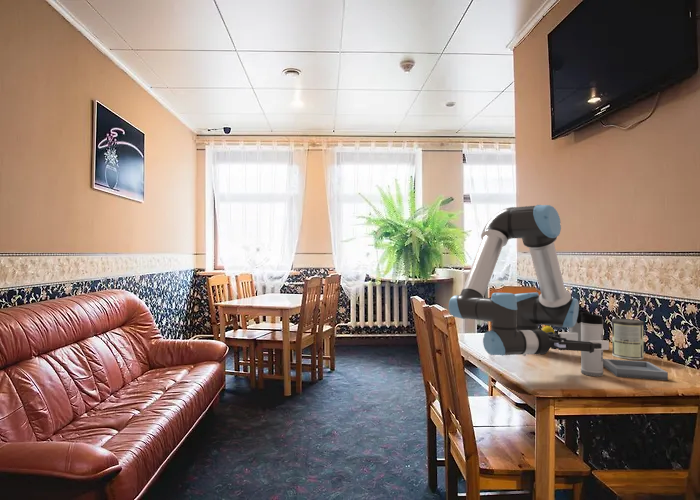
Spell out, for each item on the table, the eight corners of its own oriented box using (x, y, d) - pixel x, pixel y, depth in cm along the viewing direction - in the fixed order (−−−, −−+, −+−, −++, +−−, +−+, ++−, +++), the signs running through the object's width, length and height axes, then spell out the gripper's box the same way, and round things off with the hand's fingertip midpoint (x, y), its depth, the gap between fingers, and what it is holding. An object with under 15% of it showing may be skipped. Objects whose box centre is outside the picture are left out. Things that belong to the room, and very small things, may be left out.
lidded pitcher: (564, 343, 186) (564, 309, 186) (598, 344, 185) (598, 310, 185) (573, 347, 177) (573, 312, 178) (608, 348, 176) (608, 313, 176)
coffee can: (606, 353, 167) (606, 318, 167) (634, 354, 166) (633, 318, 166) (620, 359, 156) (620, 321, 157) (650, 360, 155) (649, 322, 156)
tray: (616, 376, 133) (616, 368, 133) (602, 365, 146) (602, 358, 146) (667, 380, 129) (667, 372, 129) (648, 369, 143) (648, 361, 143)
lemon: (544, 341, 190) (544, 323, 190) (556, 343, 186) (556, 325, 186) (539, 343, 186) (539, 325, 186) (552, 344, 182) (552, 326, 182)
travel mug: (576, 371, 139) (576, 311, 139) (596, 371, 139) (596, 311, 139) (586, 376, 133) (586, 313, 133) (607, 376, 133) (607, 314, 133)
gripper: (511, 345, 144) (566, 344, 148) (558, 363, 120) (622, 361, 123) (511, 324, 145) (566, 323, 148) (558, 337, 120) (622, 336, 123)
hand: (591, 340), depth 136 cm, fingers open, 13 cm apart
